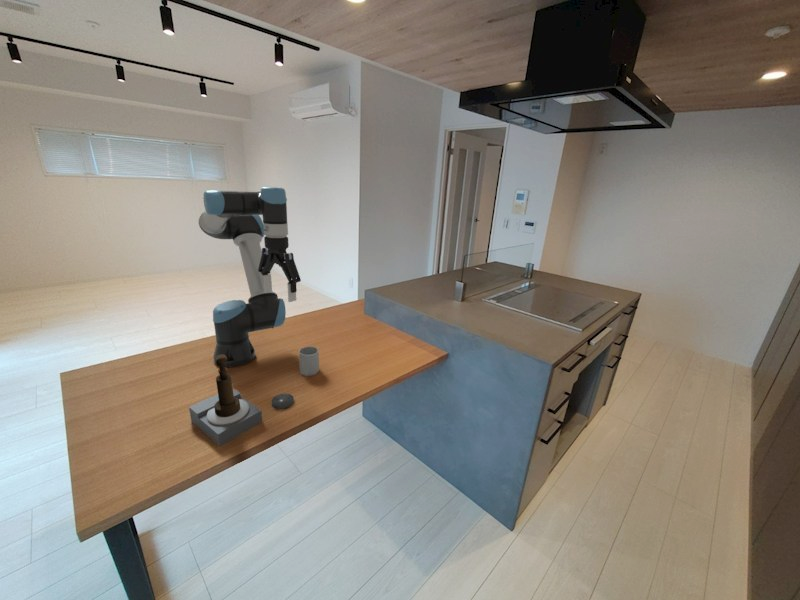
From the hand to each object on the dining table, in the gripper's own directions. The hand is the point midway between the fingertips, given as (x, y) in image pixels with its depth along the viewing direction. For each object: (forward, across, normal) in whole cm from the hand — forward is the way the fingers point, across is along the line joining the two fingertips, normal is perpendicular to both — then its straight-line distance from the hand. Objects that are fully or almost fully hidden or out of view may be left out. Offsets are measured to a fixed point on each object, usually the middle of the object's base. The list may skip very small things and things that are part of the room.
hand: (280, 296), depth 118 cm
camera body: (+31, +10, -28) cm, 43 cm away
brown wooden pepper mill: (+26, +11, -28) cm, 40 cm away
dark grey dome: (+31, +15, -12) cm, 36 cm away
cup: (+31, +5, +7) cm, 32 cm away
